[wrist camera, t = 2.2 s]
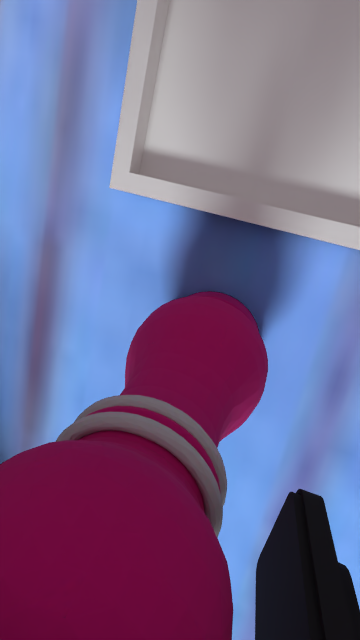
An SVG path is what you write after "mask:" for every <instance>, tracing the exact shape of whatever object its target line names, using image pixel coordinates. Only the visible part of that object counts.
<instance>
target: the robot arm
mask: <svg viewBox="0 0 360 640" xmlns="http://www.w3.org/2000/svg"><path fill="white" fill-rule="evenodd" d="M255 640H360V609H359V605H358V602H357V598H356V594H355V590H354V586H353V582H352V578H351V575H350V573H349V570H348V569H347V567H346V566H345V565H343V564H341V563H338V561H337V556H336V552H335V547H334V543H333V539H332V534H331V530H330V525H329V521H328V517H327V512H326V508H325V503H324V500H323V498H322V497H321V496H319V495H316V494H313V493H310V492H308V491H305V490H302V489H299V490H297V492H296V493H293V492H290V493H289V494H288V496H287V498H286V501H285V503H284V505H283V507H282V509H281V511H280V513H279V516H278V518H277V520H276V522H275V524H274V526H273V529H272V531H271V533H270V535H269V537H268V539H267V541H266V544H265V546H264V548H263V550H262V552H261V554H260V557H259V559H258V563H257V569H256V616H255Z"/></svg>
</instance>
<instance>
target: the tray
mask: <svg viewBox="0 0 360 640" xmlns="http://www.w3.org/2000/svg"><path fill="white" fill-rule="evenodd" d="M110 188H113V189H117V190H121V191H125V192H129V193H133V194H137V195H141V196H145V197H149V198H153V199H157V200H161V201H165V202H169V203H173V204H177V205H181V206H185V207H189V208H193V209H197V210H201V211H205V212H209V213H213V214H217V215H221V216H225V217H229V218H233V219H237V220H241V221H245V222H249V223H253V224H257V225H261V226H265V227H269V228H273V229H277V230H281V231H285V232H289V233H293V234H297V235H301V236H305V237H309V238H313V239H317V240H321V241H325V242H329V243H333V244H337V245H341V246H345V247H349V248H353V249H357V250H360V0H137V7H136V14H135V20H134V27H133V34H132V40H131V47H130V54H129V60H128V67H127V74H126V81H125V87H124V94H123V101H122V107H121V114H120V121H119V128H118V134H117V141H116V148H115V154H114V161H113V168H112V174H111V181H110Z"/></svg>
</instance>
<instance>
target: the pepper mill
mask: <svg viewBox="0 0 360 640" xmlns="http://www.w3.org/2000/svg"><path fill="white" fill-rule="evenodd" d="M267 372H268V359H267V353H266V349H265V346H264V343H263V340H262V338H261V336H260V334H259V330H258V326H257V324H256V321H255V320H254V318H253V316H252V314H251V313H250V311H249V310H248V309H247V308H246V307H245V306H244V305H243V304H242V303H241V302H239V301H238V300H237V299H235V298H233V297H231V296H229V295H226V294H223V293H220V292H199V293H195V294H192V295H189V296H188V297H183V298H179V299H176V300H172V301H170V302H168V303H166V304H164V305H162V306H160V307H159V308H158V309H156V310H155V311H154V312H152V313H151V315H150V316H149V317H148V318H147V319H146V320H145V321H144V322H143V324H142V325H141V326H140V327H139V329H138V330H137V332H136V334H135V336H134V338H133V340H132V342H131V345H130V348H129V352H128V355H127V360H126V370H125V389H124V390H123V392H122V393H121V394H120V396H112V397H108V398H104V399H102V400H100V401H97V402H95V403H94V404H92V405H91V406H89V407H88V408H87V409H85V410H84V411H83V412H82V413H81V414H80V415H79V416H78V418H77V419H76V420H75V422H74V423H73V424H72V425H70V426H69V427H68V428H66V429H65V430H64V431H63V432H62V433H61V434H60V435H59V437H58V438H57V440H56V442H51V443H47V444H44V445H41V446H38V447H35V448H32V449H30V450H27V451H24V452H22V453H19V454H17V455H15V456H13V457H12V458H10V459H8V460H7V461H5V462H3V463H2V464H0V640H232V621H233V603H232V593H231V583H230V576H229V570H228V564H227V561H226V558H225V556H224V553H223V551H222V548H221V546H220V544H219V541H218V539H217V537H218V535H219V532H220V529H221V525H222V516H223V505H224V503H225V497H226V492H227V479H226V472H225V467H224V464H223V460H222V458H221V455H220V453H219V451H218V449H217V447H218V444H219V442H220V441H221V440H222V439H223V438H225V437H226V436H227V435H229V434H230V433H232V432H233V431H234V430H236V429H237V428H239V427H240V426H241V425H242V424H243V423H244V422H245V421H246V420H247V418H248V417H249V416H250V414H251V413H252V412H253V410H254V409H255V407H256V406H257V405H258V403H259V401H260V399H261V396H262V394H263V391H264V387H265V382H266V377H267Z"/></svg>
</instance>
